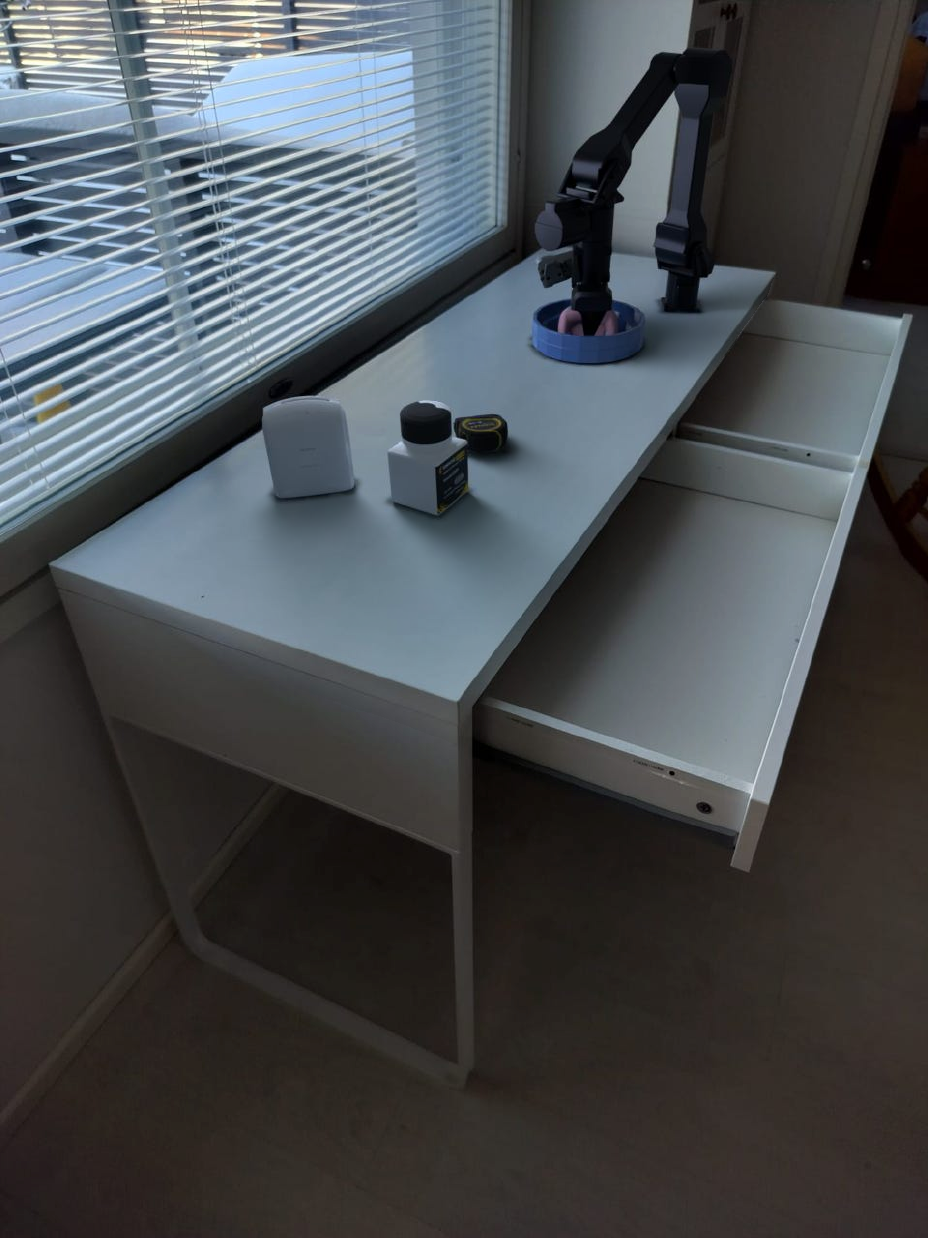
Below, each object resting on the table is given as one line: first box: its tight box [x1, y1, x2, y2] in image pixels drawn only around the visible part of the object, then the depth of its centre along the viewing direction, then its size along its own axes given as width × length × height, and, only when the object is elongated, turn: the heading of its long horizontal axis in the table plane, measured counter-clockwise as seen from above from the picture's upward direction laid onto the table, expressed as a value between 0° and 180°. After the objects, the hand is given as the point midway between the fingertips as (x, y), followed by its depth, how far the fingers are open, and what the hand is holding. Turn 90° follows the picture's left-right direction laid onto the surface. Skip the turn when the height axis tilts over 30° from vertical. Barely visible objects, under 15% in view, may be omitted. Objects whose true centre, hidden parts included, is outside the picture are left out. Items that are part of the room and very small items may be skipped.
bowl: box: [531, 298, 646, 364], centre depth 147 cm, size 18×18×4 cm
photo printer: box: [261, 395, 356, 499], centre depth 109 cm, size 10×4×12 cm, turn 100°
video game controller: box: [558, 306, 618, 336], centre depth 147 cm, size 10×5×7 cm, turn 84°
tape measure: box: [452, 413, 509, 454], centre depth 120 cm, size 7×7×4 cm
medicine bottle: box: [386, 399, 469, 516], centre depth 107 cm, size 7×7×12 cm
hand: (587, 335), depth 148 cm, fingers closed on video game controller, 6 cm apart
